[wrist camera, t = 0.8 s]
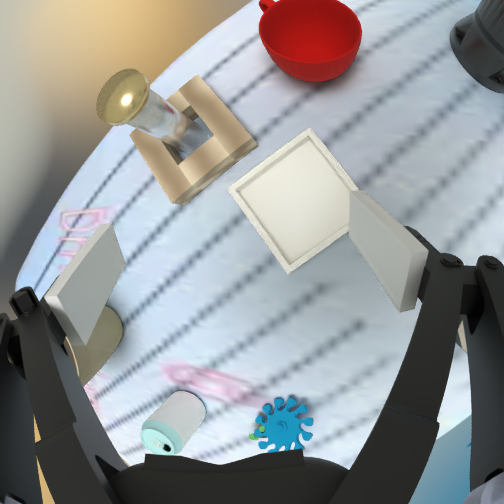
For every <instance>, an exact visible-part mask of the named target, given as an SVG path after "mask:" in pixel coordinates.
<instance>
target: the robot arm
mask: <svg viewBox="0 0 504 504" xmlns="http://www.w3.org/2000/svg"><path fill="white" fill-rule="evenodd" d="M450 41H451V46H452V48H453V51H454V53H455V55H456V57H457V58H458V60H459V61H460V63H461V64H462V65H463V67H464V68H465V69H466V70H467V71H468V72H469V73H470V74H471V75H472V76H473V77H474V78H475V79H476V80H477V81H478V82H480V83H481V84H482V85H484V86H485V87H487V88H489V89H491V90H493V91H496V92H499V93H504V0H482V1H481V3H480V4H479V6H478V8H477V9H476V11H475V12H474V13H472V14H470V15H469V16H467V17H465V18H463V19H461V20H460V21H458V22H457V23H456V24H455V26H454V28H453V29H452V31H451V34H450ZM349 238H350V239H351V241H352V242H353V244H354V245H355V246H356V248H357V249H358V251H359V252H360V254H361V255H362V257H363V258H364V259H365V261H366V262H367V264H368V265H369V267H370V268H371V270H372V271H373V273H374V274H375V276H376V277H377V279H378V280H379V282H380V283H381V285H382V286H383V288H384V289H385V291H386V293H387V294H388V296H389V297H390V299H391V300H392V302H393V304H394V305H395V307H396V308H397V310H398V312H403V311H407V310H412V309H415V305H416V302H417V298H419V299H420V301H421V302H422V306H421V309H420V313H419V316H418V319H417V322H416V326H415V329H414V332H413V335H412V338H411V341H410V343H409V346H408V349H407V352H406V354H405V357H404V360H403V362H402V365H401V367H400V370H399V373H398V375H397V377H396V380H395V382H394V385H393V387H392V389H391V391H390V394H389V396H388V398H387V400H386V403H385V405H384V407H383V409H382V411H381V413H380V415H379V417H378V419H377V421H376V423H375V425H374V427H373V429H372V431H371V433H370V435H369V437H368V439H367V441H366V442H365V444H364V446H363V448H362V450H361V451H360V453H359V455H358V457H357V458H356V460H355V462H354V463H353V465H352V467H351V468H350V470H348V469H346V468H344V467H343V466H341V465H339V464H336V463H334V462H331V461H328V460H324V459H320V458H314V457H304V456H303V450H302V448H301V449H294V450H287V451H279V452H271V453H262V454H258V455H255V456H252V457H249V458H245V459H242V460H238V461H235V462H231V463H227V464H223V465H216V464H212V463H207V462H203V461H199V460H195V459H191V458H187V457H183V456H173V455H157V454H145V461H144V463H140V464H136V465H133V466H131V467H128V466H127V465H126V464H125V463H124V462H123V460H122V459H121V457H120V456H119V454H118V453H117V451H116V449H115V448H114V446H113V444H112V442H111V441H110V439H109V437H108V435H107V434H106V432H105V430H104V428H103V426H102V424H101V423H100V421H99V419H98V417H97V415H96V413H95V411H94V409H93V407H92V405H91V403H90V401H89V399H88V396H87V394H86V392H85V390H84V388H83V385H82V383H81V381H80V379H79V376H78V374H77V371H76V369H75V367H74V364H73V361H72V359H71V356H70V354H69V351H68V348H67V347H66V345H65V344H64V340H65V338H66V336H67V338H68V339H69V341H70V342H71V344H72V345H73V346H86V345H87V342H88V340H89V338H90V336H91V333H92V331H93V329H94V327H95V325H96V323H97V321H98V318H99V316H100V314H101V312H102V310H103V308H104V306H105V304H106V302H107V300H108V298H109V296H110V294H111V292H112V290H113V288H114V286H115V284H116V282H117V281H118V279H119V277H120V275H121V273H122V271H123V269H124V267H125V266H126V263H125V260H124V258H123V255H122V252H121V249H120V246H119V243H118V240H117V237H116V234H115V231H114V228H113V225H112V223H109V224H104V225H100V227H99V228H98V229H97V230H96V231H95V232H94V233H93V235H92V236H91V237H90V238H89V239H88V240H87V242H86V243H85V244H84V245H83V246H82V248H81V249H80V250H79V251H78V253H77V254H76V255H75V256H74V257H73V259H72V260H71V261H70V263H69V264H68V265H67V266H66V268H65V269H64V270H63V272H62V273H61V274H60V275H59V276H58V277H57V278H56V279H55V281H54V282H53V284H52V285H51V286H50V289H48V290H47V292H46V293H45V294H44V296H43V297H42V299H41V300H40V302H39V300H38V299H37V297H36V295H35V293H34V291H33V289H32V287H29V286H28V287H24V288H21V289H20V290H18V291H17V292H15V293H14V294H13V295H12V297H11V298H10V300H9V303H10V305H11V307H12V309H13V310H14V312H15V314H16V315H17V317H18V319H16V320H13V321H11V320H10V319H9V317H8V316H7V314H6V313H1V314H0V504H43V500H42V493H41V487H40V481H39V474H38V466H37V458H38V461H39V464H40V467H41V470H42V472H43V475H44V478H45V480H46V483H47V486H48V488H49V490H50V493H51V495H52V497H53V500H54V502H55V504H408V503H409V501H410V499H411V497H412V495H413V493H414V491H415V489H416V487H417V485H418V482H419V480H420V478H421V476H422V473H423V471H424V469H425V466H426V464H427V461H428V458H429V456H430V453H431V451H432V448H433V445H434V443H435V440H436V437H437V434H438V430H439V423H438V422H437V417H438V413H439V410H440V407H441V403H442V400H443V396H444V392H445V389H446V385H447V381H448V377H449V372H450V368H451V363H452V358H453V353H454V348H455V342H456V337H457V330H458V324H459V316H460V315H461V316H462V321H463V327H464V333H465V339H466V346H467V354H468V363H469V373H470V386H471V406H472V439H471V459H470V494H469V495H468V496H467V498H466V499H465V501H464V503H463V504H504V265H503V264H502V263H501V262H500V261H499V260H498V259H497V258H494V257H493V256H487V255H483V256H480V257H479V258H478V261H477V264H476V266H464V265H463V262H462V261H461V260H460V259H459V258H458V257H456V256H454V255H452V254H448V253H439V252H438V251H437V250H436V249H435V248H434V247H433V246H432V245H431V244H430V243H429V242H427V240H426V239H425V238H424V237H422V235H421V234H420V233H419V232H417V231H416V230H414V229H412V228H410V227H408V226H403V225H402V224H400V223H399V222H398V221H397V220H396V219H395V218H394V217H393V216H392V215H391V214H390V213H388V212H387V211H386V210H385V209H384V208H383V207H382V206H381V205H379V204H378V203H377V202H376V201H375V200H374V199H372V198H371V197H370V196H369V195H368V194H367V193H365V192H364V191H363V190H358V191H350V210H349ZM9 360H10V361H11V363H10V361H9ZM34 416H35V420H36V424H37V427H38V430H39V434H40V437H41V440H40V441H38V442H36V443H35V436H34V435H35V434H34ZM36 455H37V458H36Z"/></svg>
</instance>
